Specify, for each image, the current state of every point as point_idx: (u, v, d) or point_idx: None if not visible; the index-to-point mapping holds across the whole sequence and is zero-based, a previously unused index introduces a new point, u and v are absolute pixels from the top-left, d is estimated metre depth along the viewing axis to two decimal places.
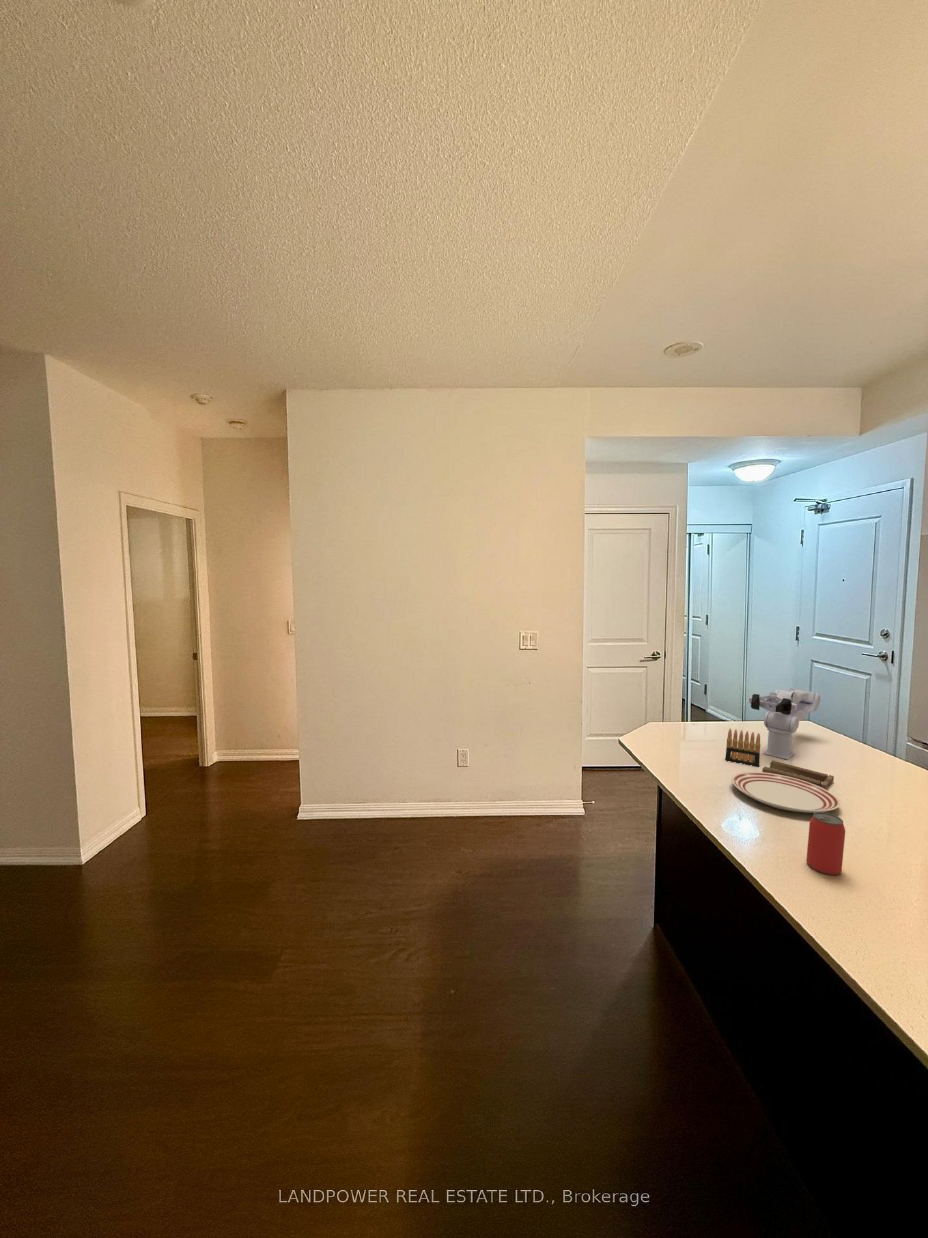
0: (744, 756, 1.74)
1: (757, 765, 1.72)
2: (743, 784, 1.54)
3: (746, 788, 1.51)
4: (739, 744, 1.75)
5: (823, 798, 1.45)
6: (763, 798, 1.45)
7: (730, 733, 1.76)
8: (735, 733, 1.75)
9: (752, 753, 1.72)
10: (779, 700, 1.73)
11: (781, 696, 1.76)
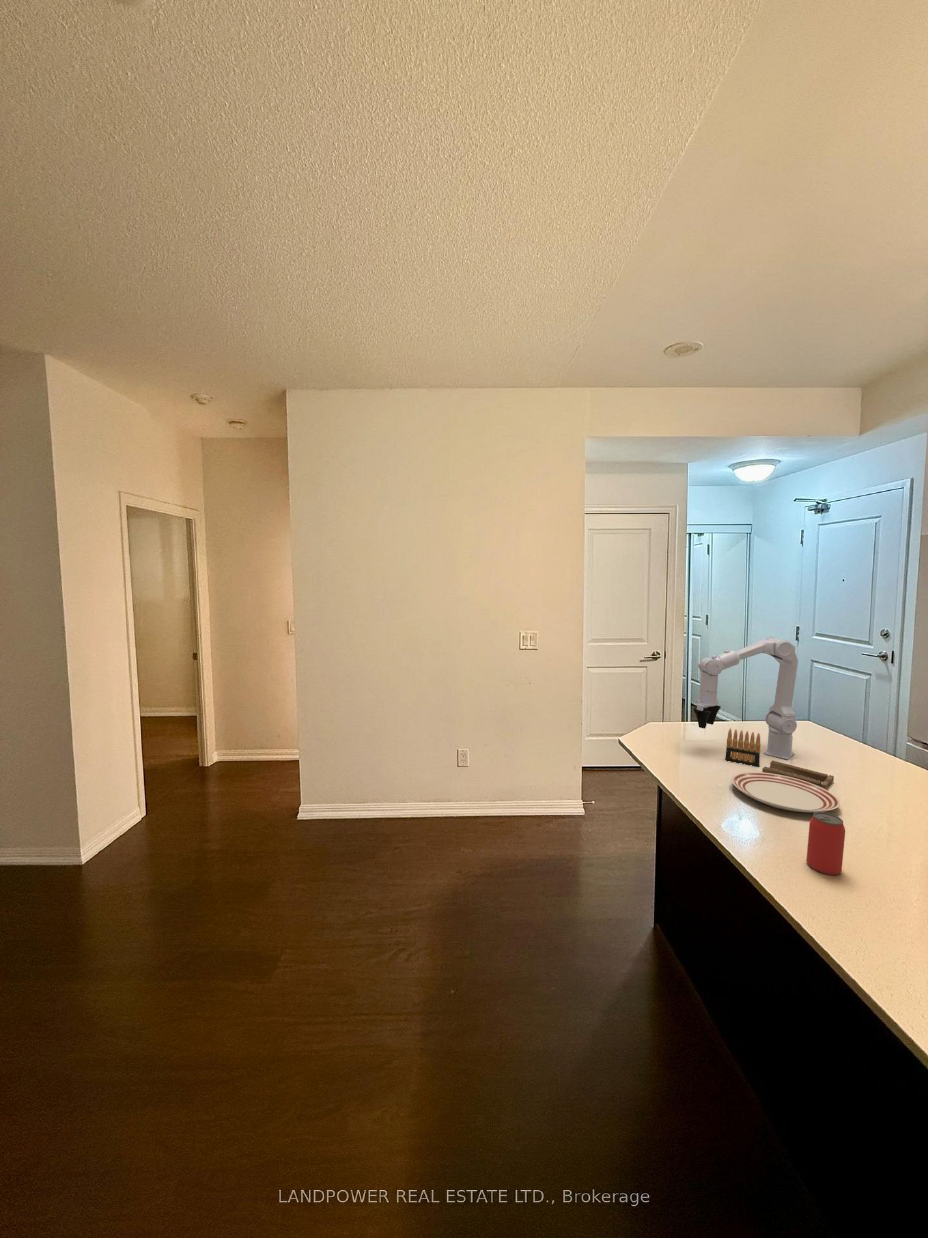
0: (744, 756, 1.74)
1: (757, 765, 1.72)
2: (743, 784, 1.54)
3: (746, 788, 1.51)
4: (739, 744, 1.75)
5: (823, 798, 1.45)
6: (763, 798, 1.45)
7: (730, 733, 1.76)
8: (735, 733, 1.75)
9: (752, 753, 1.72)
10: None
11: (700, 693, 1.83)
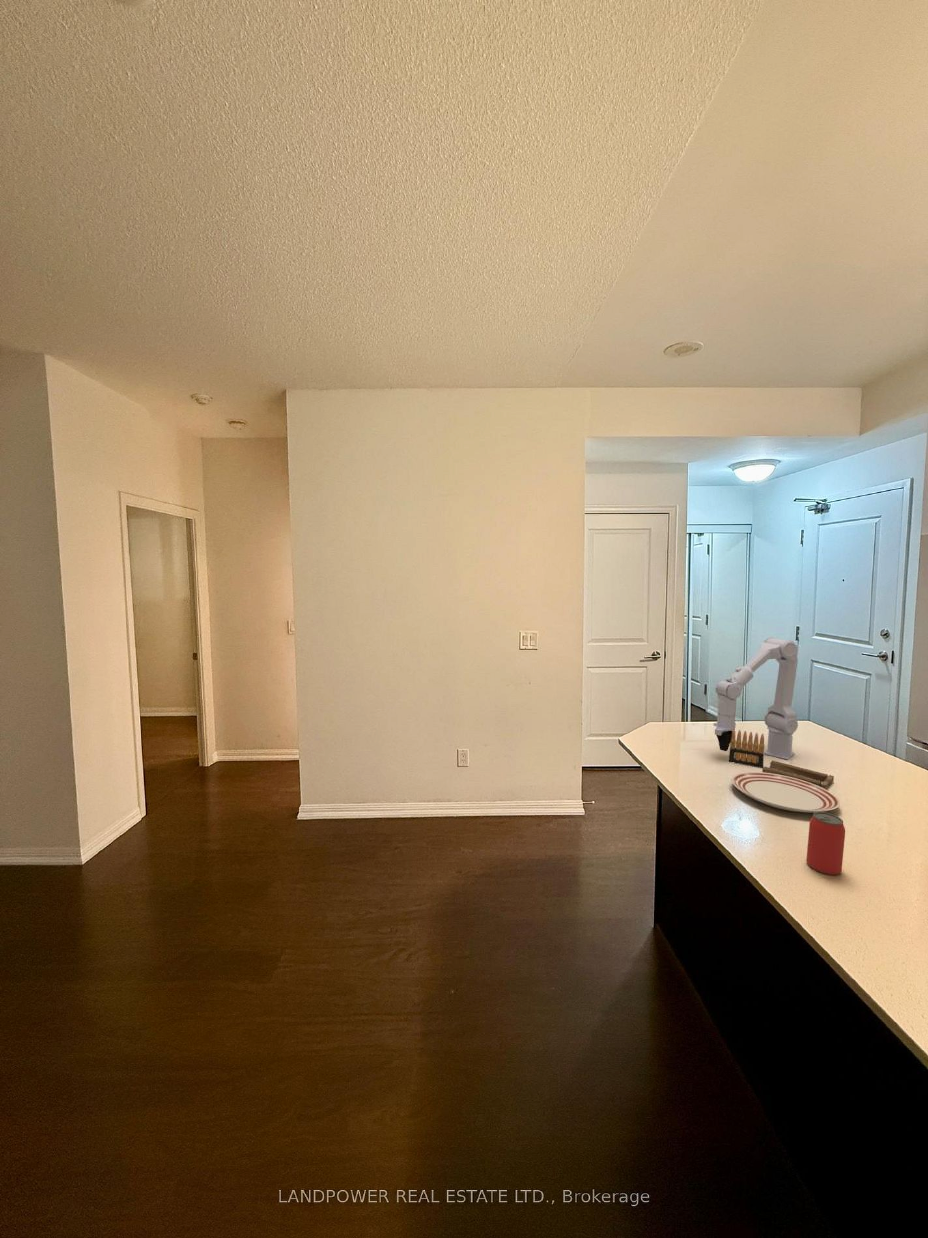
0: (748, 757, 1.73)
1: (761, 765, 1.71)
2: (743, 784, 1.54)
3: (746, 788, 1.51)
4: (743, 745, 1.74)
5: (823, 798, 1.45)
6: (763, 798, 1.45)
7: (734, 734, 1.75)
8: (739, 734, 1.74)
9: (756, 753, 1.72)
10: None
11: (717, 716, 1.79)
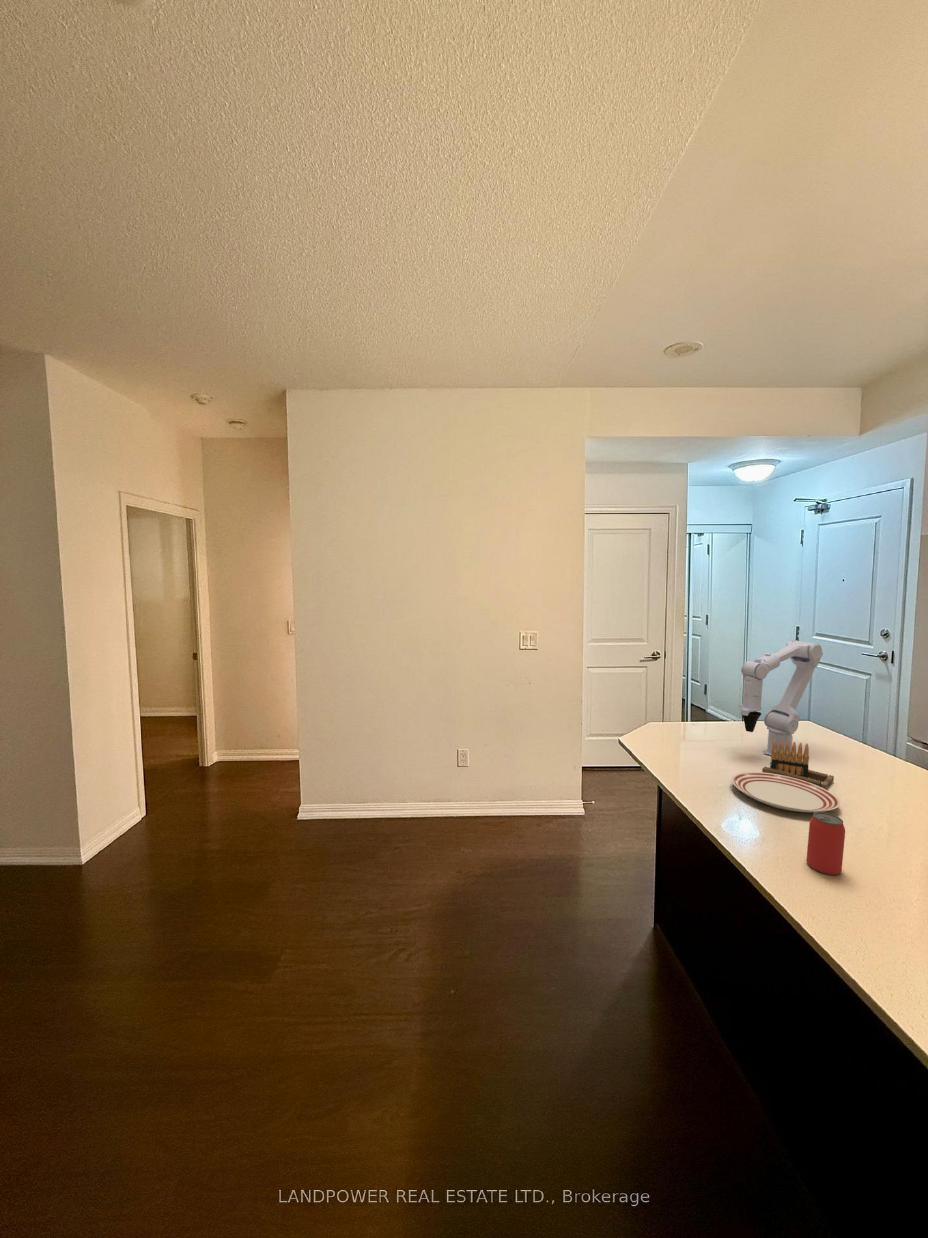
0: (791, 768, 1.63)
1: None
2: (743, 784, 1.54)
3: (746, 788, 1.51)
4: (786, 756, 1.64)
5: (823, 798, 1.45)
6: (763, 798, 1.45)
7: (776, 744, 1.65)
8: (781, 744, 1.64)
9: (800, 765, 1.62)
10: None
11: (743, 697, 1.78)
